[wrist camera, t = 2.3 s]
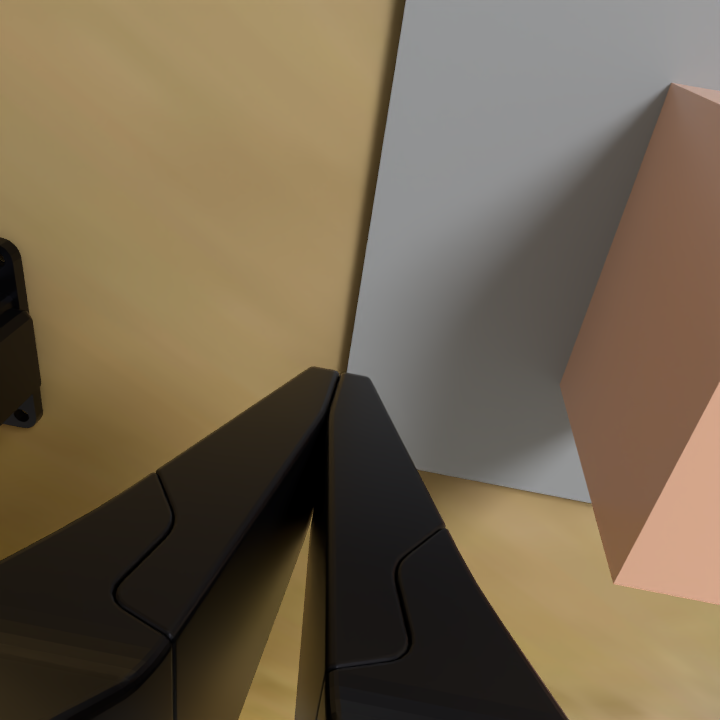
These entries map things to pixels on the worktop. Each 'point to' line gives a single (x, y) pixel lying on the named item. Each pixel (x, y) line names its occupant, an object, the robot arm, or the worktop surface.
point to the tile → (658, 365)
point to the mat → (508, 216)
